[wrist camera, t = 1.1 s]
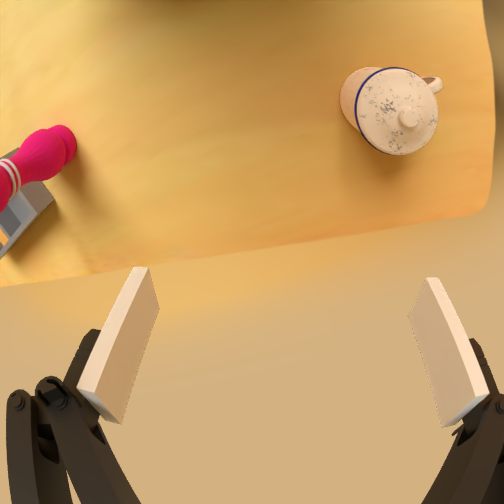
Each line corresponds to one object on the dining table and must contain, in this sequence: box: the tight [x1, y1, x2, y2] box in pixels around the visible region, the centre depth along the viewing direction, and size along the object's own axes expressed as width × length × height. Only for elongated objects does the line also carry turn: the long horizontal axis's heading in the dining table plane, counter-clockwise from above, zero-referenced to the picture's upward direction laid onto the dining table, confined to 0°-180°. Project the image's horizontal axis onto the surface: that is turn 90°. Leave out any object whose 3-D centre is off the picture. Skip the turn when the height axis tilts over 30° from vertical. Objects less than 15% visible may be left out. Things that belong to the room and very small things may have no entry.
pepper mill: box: [0, 125, 76, 213], centre depth 29 cm, size 7×7×20 cm
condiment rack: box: [0, 147, 54, 259], centre depth 41 cm, size 12×22×5 cm, turn 120°
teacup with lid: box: [340, 67, 443, 155], centre depth 26 cm, size 12×9×12 cm
